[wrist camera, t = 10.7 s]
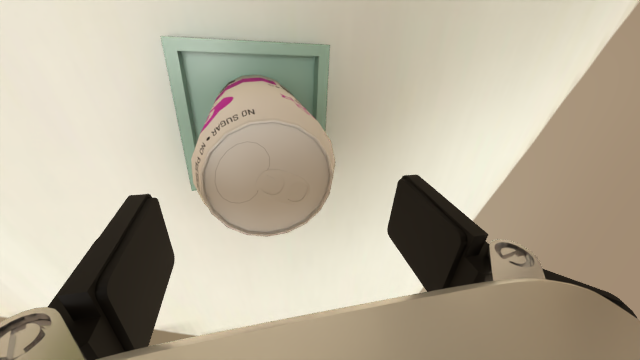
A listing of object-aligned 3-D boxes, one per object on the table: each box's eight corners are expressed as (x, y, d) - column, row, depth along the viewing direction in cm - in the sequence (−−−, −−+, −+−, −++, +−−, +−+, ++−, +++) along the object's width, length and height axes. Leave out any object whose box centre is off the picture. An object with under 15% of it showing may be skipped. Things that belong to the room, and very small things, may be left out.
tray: (323, 44, 26) (329, 44, 24) (317, 171, 32) (322, 180, 30) (167, 36, 23) (160, 35, 21) (195, 181, 29) (191, 190, 27)
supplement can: (203, 137, 26) (166, 226, 14) (231, 57, 24) (219, 74, 11) (277, 164, 30) (303, 256, 17) (309, 96, 27) (368, 144, 15)
